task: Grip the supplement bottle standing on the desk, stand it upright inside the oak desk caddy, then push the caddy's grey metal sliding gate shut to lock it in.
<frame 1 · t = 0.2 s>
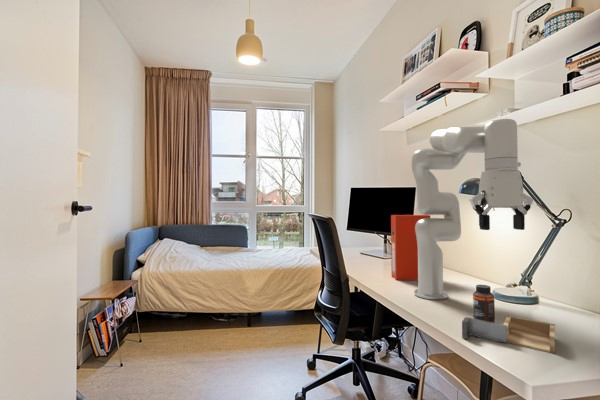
hand: (501, 229, 84), 30 cm above the table, tool pointing down, fingers open, 9 cm apart
file binder: (410, 278, 158), on the table
gate: (484, 331, 85), point 2 cm above the table, slide at 9.5 cm
caddy: (529, 340, 86), on the table
supplement bottle: (483, 322, 99), on the table
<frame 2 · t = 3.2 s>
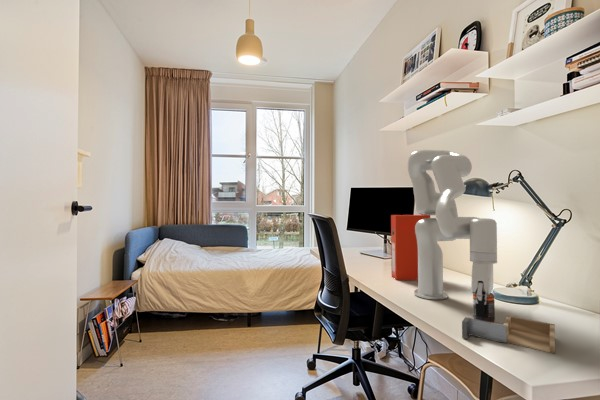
hand: (483, 313, 99), 3 cm above the table, tool pointing down, fingers closed on supplement bottle, 6 cm apart
supplement bottle: (483, 322, 99), on the table, touching gripper
everything else where it was.
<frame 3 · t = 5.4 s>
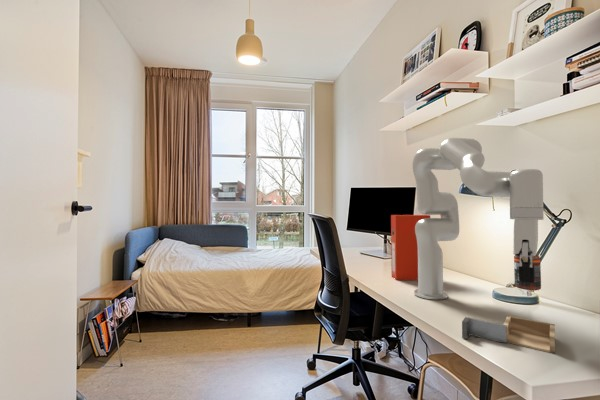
hand: (527, 278, 86), 17 cm above the table, tool pointing down, fingers closed on supplement bottle, 6 cm apart
supplement bottle: (527, 289, 86), point 14 cm above the table, touching gripper
everything else where it was.
when the fingers open (5 cm above the table, at t = 8.0 s): supplement bottle drops 2 cm, resting on caddy.
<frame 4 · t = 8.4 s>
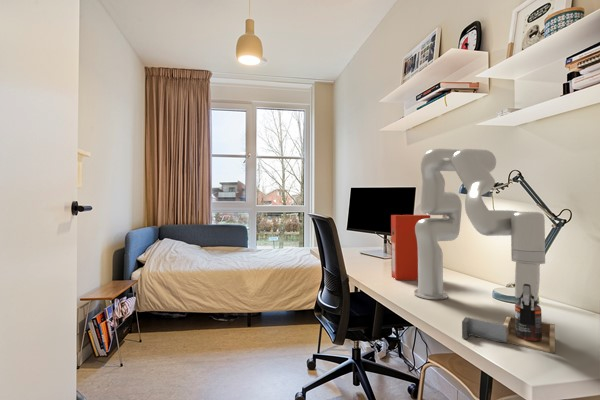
hand: (528, 319, 86), 6 cm above the table, tool pointing down, fingers open, 9 cm apart
supplement bottle: (528, 338, 86), resting on caddy
everything else where it was.
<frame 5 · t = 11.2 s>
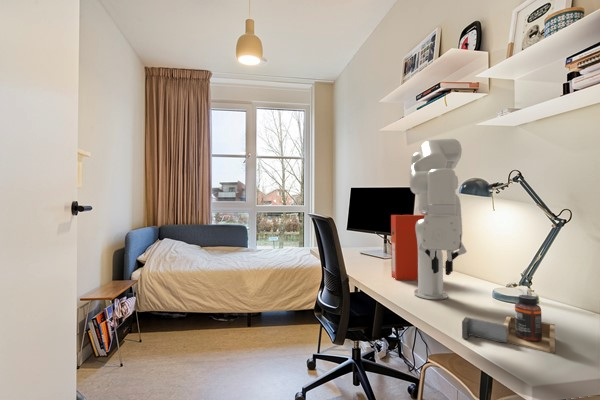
hand: (442, 272, 92), 17 cm above the table, tool pointing down, fingers closed
nothing on the table moved.
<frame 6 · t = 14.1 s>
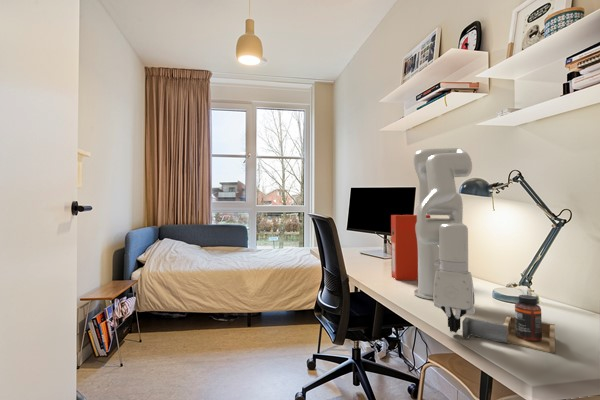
hand: (454, 330, 89), 1 cm above the table, tool pointing down, fingers closed
gate: (484, 331, 85), point 2 cm above the table, slide at 9.4 cm, touching gripper
everything else where it was.
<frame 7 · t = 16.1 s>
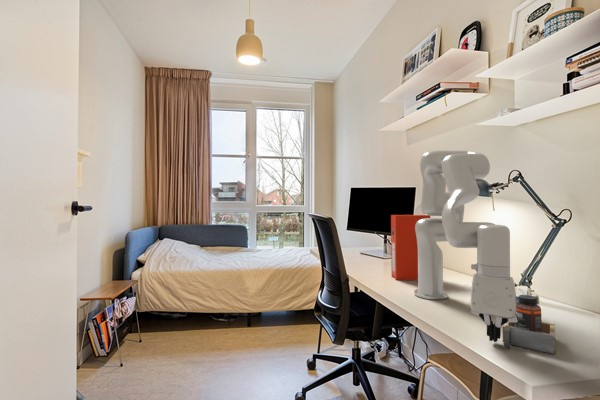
hand: (493, 339, 83), 1 cm above the table, tool pointing down, fingers closed
gate: (528, 341, 79), point 2 cm above the table, slide at -0.3 cm, touching gripper
everything else where it was.
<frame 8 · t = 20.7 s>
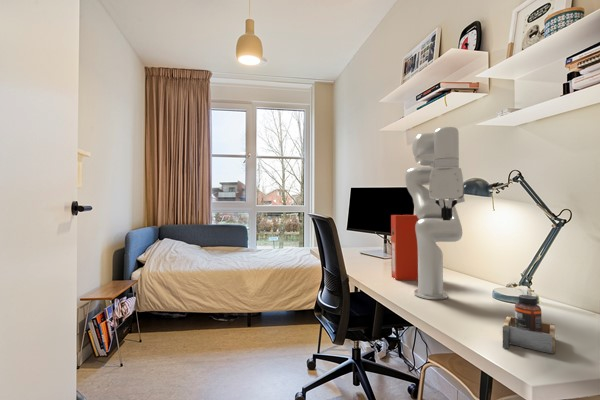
hand: (446, 220, 104), 32 cm above the table, tool pointing down, fingers closed
gate: (527, 341, 79), point 2 cm above the table, slide at 0.0 cm
everything else where it was.
at the end: supplement bottle 0.4 cm off-centre on the caddy, point 0.3 cm above the caddy's base; supplement bottle tilted 0°; gate slide at 0.0 cm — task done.
